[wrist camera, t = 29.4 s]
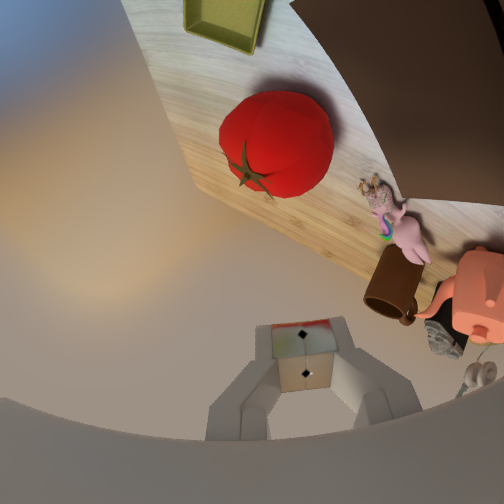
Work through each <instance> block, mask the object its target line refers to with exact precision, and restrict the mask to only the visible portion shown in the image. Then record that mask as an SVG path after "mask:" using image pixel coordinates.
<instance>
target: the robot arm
mask: <svg viewBox="0 0 504 504" xmlns="http://www.w3.org/2000/svg"><path fill="white" fill-rule="evenodd" d="M255 333H256V334H255V337H256V338H255V340H256V341H255V360H254V361H250V362H249V364H248V365H247V366H246V367H245V368H244V369H243V371H242V372H241V373H240V374H239V375H238V376H237V377H236V379H235V380H234V381H233V382H232V383H231V384H230V385H229V386H228V388H227V389H226V390H225V391H224V392H223V393H222V394H221V395H220V396H219V397H218V399H217V400H216V401H215V402H214V403H213V404H212V405H211V406H210V409H209V416H208V423H207V430H206V437H205V441H199V440H184V439H172V438H162V437H153V436H146V435H138V434H132V433H126V432H121V431H115V430H110V429H105V428H100V427H96V426H92V425H87V424H83V423H80V422H76V421H72V420H68V419H64V418H61V417H58V416H55V415H52V414H48V413H45V412H42V411H40V410H37V409H34V408H31V407H28V406H26V405H23V404H20V403H18V402H16V401H13V400H11V399H8V398H0V504H504V376H503V377H502V378H500V379H498V380H496V381H494V382H492V383H490V384H488V385H485V386H483V387H481V388H479V389H477V390H475V391H472V392H470V393H468V394H466V395H463V396H461V397H458V398H456V399H453V400H451V401H449V402H446V403H443V404H440V405H438V406H435V407H432V408H429V409H426V410H423V409H422V407H421V404H420V402H419V399H418V397H417V395H416V393H415V390H414V388H413V386H412V383H411V381H410V380H408V379H406V378H405V377H403V376H402V375H400V374H399V373H397V372H396V371H394V370H393V369H391V368H390V367H388V366H386V365H385V364H384V363H382V362H380V361H379V360H377V359H376V358H374V357H373V356H371V355H370V354H368V353H367V352H365V351H364V350H362V349H361V348H355V346H354V343H353V340H352V337H351V335H350V332H349V329H348V327H347V324H346V321H345V319H344V317H343V316H340V317H333V318H328V319H321V320H314V321H306V322H296V323H285V324H272V325H262V326H261V325H260V326H256V331H255ZM327 387H330V388H331V389H332V390H333V391H334V392H335V393H336V394H337V395H338V396H339V397H340V398H341V399H342V400H343V401H344V402H345V403H346V404H347V405H348V406H349V407H350V408H351V409H352V410H353V411H354V412H355V413H356V414H357V417H356V420H355V423H354V426H353V429H350V430H345V431H340V432H334V433H328V434H321V435H314V436H307V437H298V438H289V439H276V440H271V436H270V430H269V424H268V419H267V417H268V415H269V413H270V412H271V410H272V409H273V407H274V405H275V404H276V402H277V401H278V399H279V397H280V396H281V393H286V392H293V391H300V390H309V389H318V388H327Z"/></svg>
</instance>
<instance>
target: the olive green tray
mask: <svg viewBox="0 0 504 504" xmlns="http://www.w3.org/2000/svg"><path fill="white" fill-rule="evenodd" d="M183 1H184V2H183V5H184V6H183V9H184V10H183V19H184V20H183V21H184V23H183V24H184V30H185V31H186V32H188V33H190V34H193V35H197V36H200V37H203V38H206V39H209V40H212V41H214V42H217V43H220V44H223V45H225V46H228V47H230V48H233V49H235V50H238V51H240V52H242V53H245V54H247V55H250V56H251V55H253V54H254V50H255V45H256V40H257V35H258V31H259V26H260V21H261V17H262V12H263V8H264V3H265V0H183Z"/></svg>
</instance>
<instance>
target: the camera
mask: <svg viewBox="0 0 504 504" xmlns="http://www.w3.org/2000/svg"><path fill="white" fill-rule="evenodd" d="M443 282H444V281H441V282H439V283H438V284H437V287H436V291H435V294H434V297H435V295H436V293H437V291H438V289H439V287H440V286H441V284H442V283H443ZM434 297H433V299H434ZM433 299H432V301H433ZM452 302H453V297H451V298H448V299H446V300H445V301H444V302H443V303H442V305H441V306H440V308H439V310H438V311H437V313H436V314H435V315H434V316H432V317H430V318H426V319H425V321H424V323H425V327H424V328H425V329H426V330H427V332H428V334H429V335H428V341H429V346H430V348H431V350H432V351H433V352H434V353H435V354H436V355H446V354H447V356H448V357H449V358H452V359H458V358H459V357H462V355H463V351H464V348H465V346H466V343H467V340H468V337H469V335H466V334H463V333H461V332H458V331H456V330H455V329H454V328H453V326H452ZM431 303H432V302H431Z"/></svg>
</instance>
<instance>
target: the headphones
mask: <svg viewBox="0 0 504 504" xmlns="http://www.w3.org/2000/svg"><path fill="white" fill-rule="evenodd" d="M491 344H492V342H491ZM491 344H490V345H491ZM490 345H489V346H490ZM489 346H488V347H487V348H486V349H485V351H486V350H487V349H488V348H489ZM483 353H484V351H483ZM483 353H481V355H482V354H483ZM481 355H480V356H481ZM480 356H479V358H480ZM479 358H478V359H479ZM478 359H477V362H476V363H472V364H470V365H469V366H468V368H467V369H466V372H465V375H464V383H463V384H462V387H461V389H460V390H459V392H458V394H457V396H456V397H455V399H456V398H458V397H461V396H462V394H463V392H464V391H466V390H467V389H466V388H469V387H475V386H477V385H478V386H479V387H483V386H485V385H488V384H490V383H492V382H494V381H495V378H496V375H497V367H496V364H495V363H494V362H485V363H484V364H483V365H482V364H481V363H478ZM465 389H466V390H465Z"/></svg>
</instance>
